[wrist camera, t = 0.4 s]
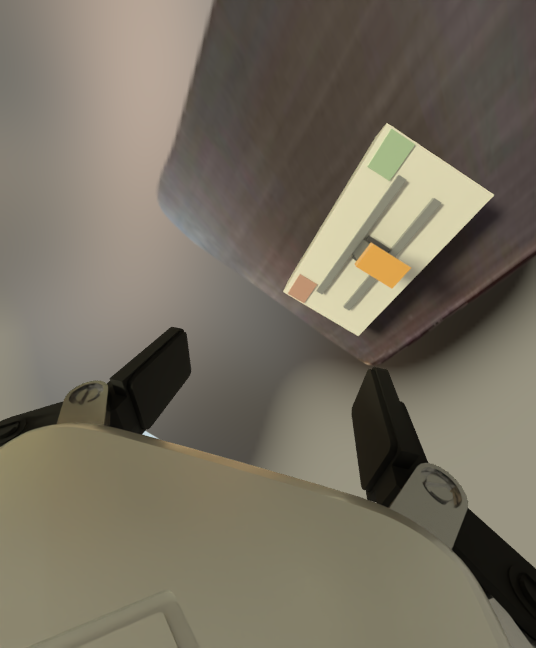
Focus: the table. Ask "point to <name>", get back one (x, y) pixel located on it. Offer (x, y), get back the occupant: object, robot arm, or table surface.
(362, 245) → the handle
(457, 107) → the table surface
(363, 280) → the switch box
